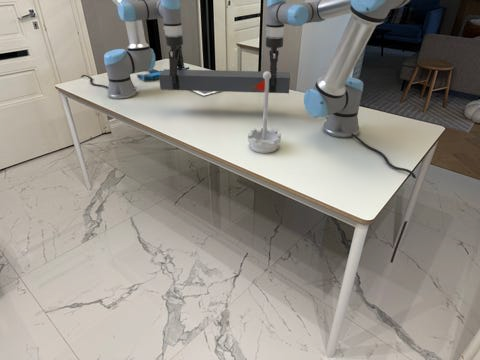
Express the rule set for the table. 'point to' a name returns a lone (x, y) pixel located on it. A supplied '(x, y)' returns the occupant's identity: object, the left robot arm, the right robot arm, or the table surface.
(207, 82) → the wide beam
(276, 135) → the flag stand
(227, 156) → the table surface
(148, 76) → the submachine gun
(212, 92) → the tablet
